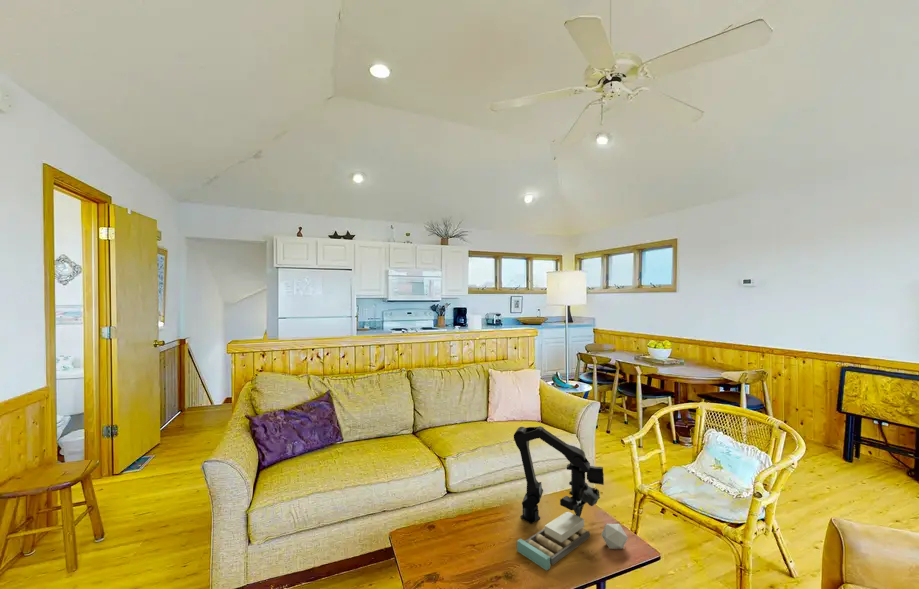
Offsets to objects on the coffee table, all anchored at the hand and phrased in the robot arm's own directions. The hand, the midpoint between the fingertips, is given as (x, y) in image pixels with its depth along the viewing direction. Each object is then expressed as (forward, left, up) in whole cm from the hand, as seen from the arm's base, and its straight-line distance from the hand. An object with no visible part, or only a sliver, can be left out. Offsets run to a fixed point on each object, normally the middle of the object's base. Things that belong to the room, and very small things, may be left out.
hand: (578, 517), depth 163 cm
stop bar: (0, -30, -4) cm, 31 cm away
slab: (0, -10, -1) cm, 10 cm away
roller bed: (0, -15, -4) cm, 16 cm away
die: (+16, 0, -5) cm, 17 cm away
